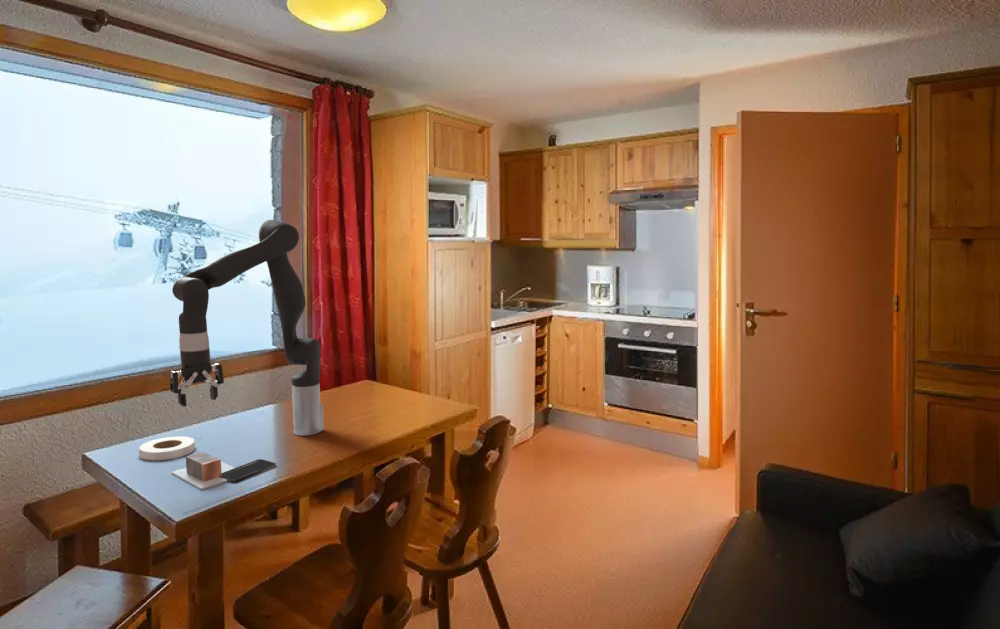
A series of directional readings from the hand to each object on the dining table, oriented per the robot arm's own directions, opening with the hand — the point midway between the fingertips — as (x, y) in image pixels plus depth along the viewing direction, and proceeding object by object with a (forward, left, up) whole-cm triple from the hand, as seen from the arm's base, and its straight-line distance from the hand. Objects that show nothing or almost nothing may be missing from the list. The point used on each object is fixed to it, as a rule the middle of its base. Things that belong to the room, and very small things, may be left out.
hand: (198, 402), depth 174 cm
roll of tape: (0, -24, -21) cm, 32 cm away
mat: (0, +4, -21) cm, 21 cm away
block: (+2, 0, -18) cm, 18 cm away
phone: (-8, +11, -21) cm, 25 cm away
